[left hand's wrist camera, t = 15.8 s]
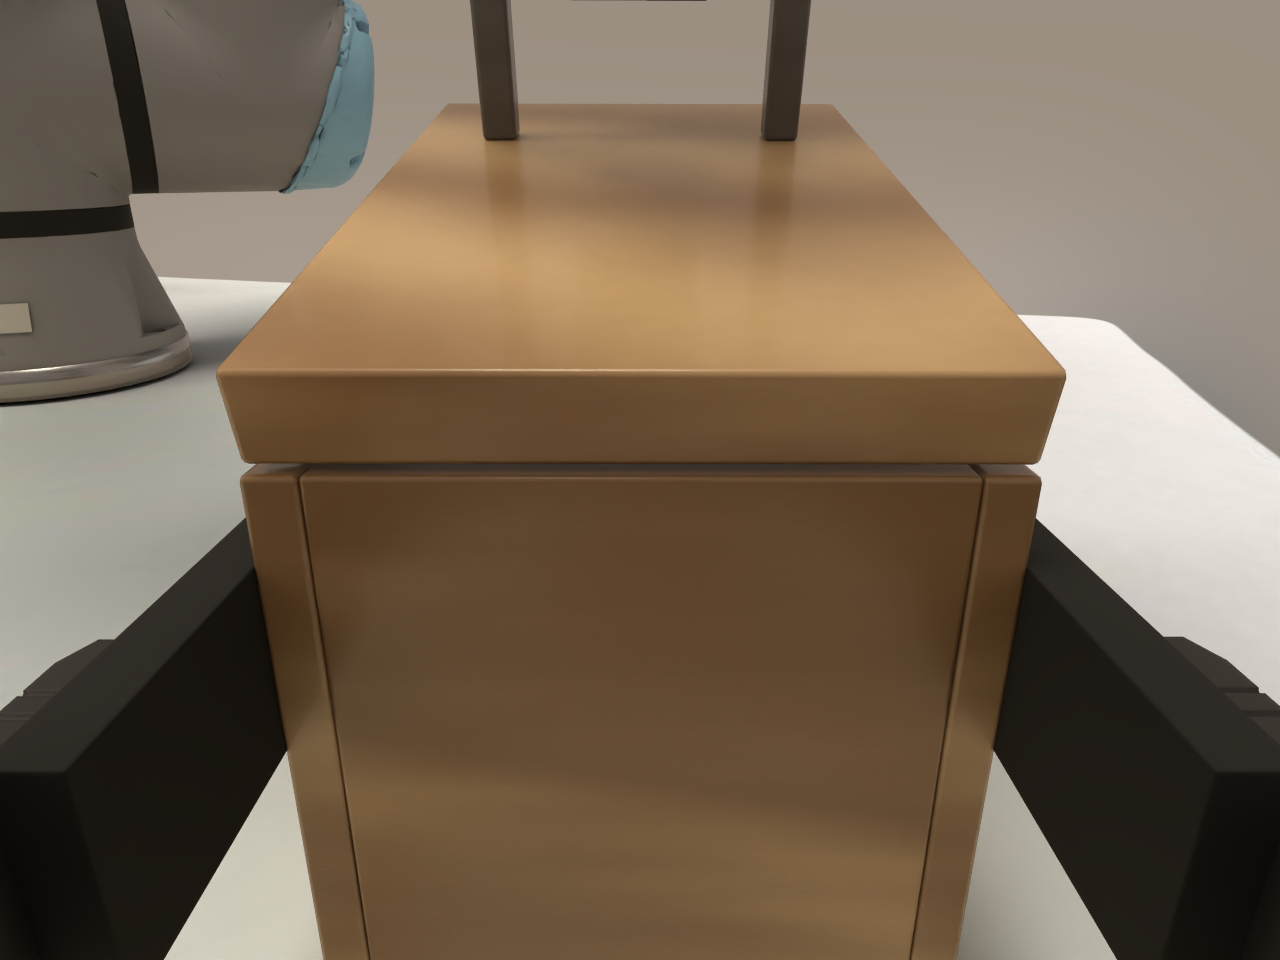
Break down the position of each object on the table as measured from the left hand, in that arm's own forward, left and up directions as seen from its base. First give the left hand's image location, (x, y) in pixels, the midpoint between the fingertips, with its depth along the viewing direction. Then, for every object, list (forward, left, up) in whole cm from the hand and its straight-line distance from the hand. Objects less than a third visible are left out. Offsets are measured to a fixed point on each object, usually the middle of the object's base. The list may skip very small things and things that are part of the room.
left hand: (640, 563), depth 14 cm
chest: (+4, +1, -7) cm, 8 cm away
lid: (+4, +1, +4) cm, 6 cm away
